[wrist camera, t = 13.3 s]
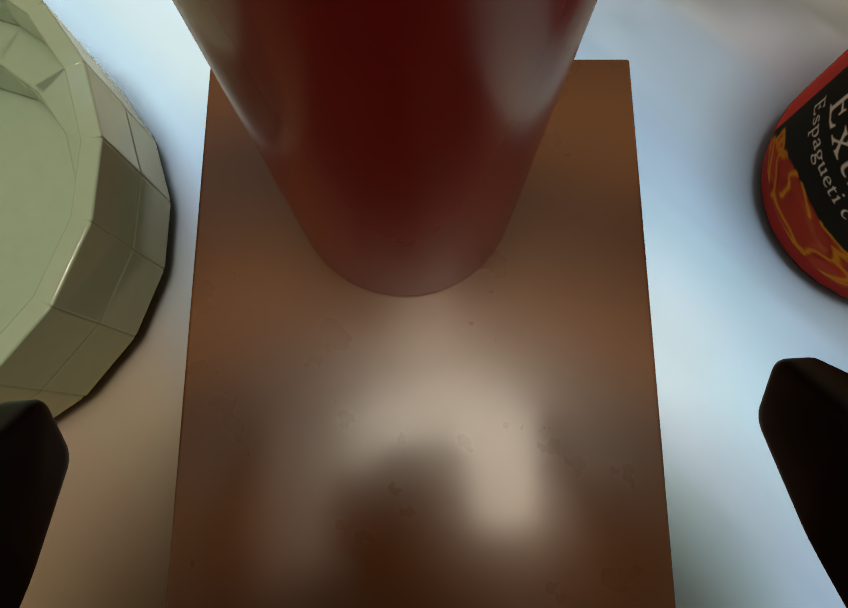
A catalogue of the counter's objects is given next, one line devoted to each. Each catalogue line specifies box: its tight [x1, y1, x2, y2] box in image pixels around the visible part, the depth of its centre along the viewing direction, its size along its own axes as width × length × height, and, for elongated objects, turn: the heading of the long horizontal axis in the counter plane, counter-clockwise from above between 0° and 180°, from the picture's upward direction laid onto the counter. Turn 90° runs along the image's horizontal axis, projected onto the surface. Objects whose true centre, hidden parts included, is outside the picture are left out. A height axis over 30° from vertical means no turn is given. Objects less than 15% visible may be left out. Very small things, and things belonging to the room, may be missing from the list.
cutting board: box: [166, 60, 676, 608], centre depth 16 cm, size 21×12×2 cm, turn 0°
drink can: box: [172, 0, 597, 296], centre depth 11 cm, size 6×6×12 cm
